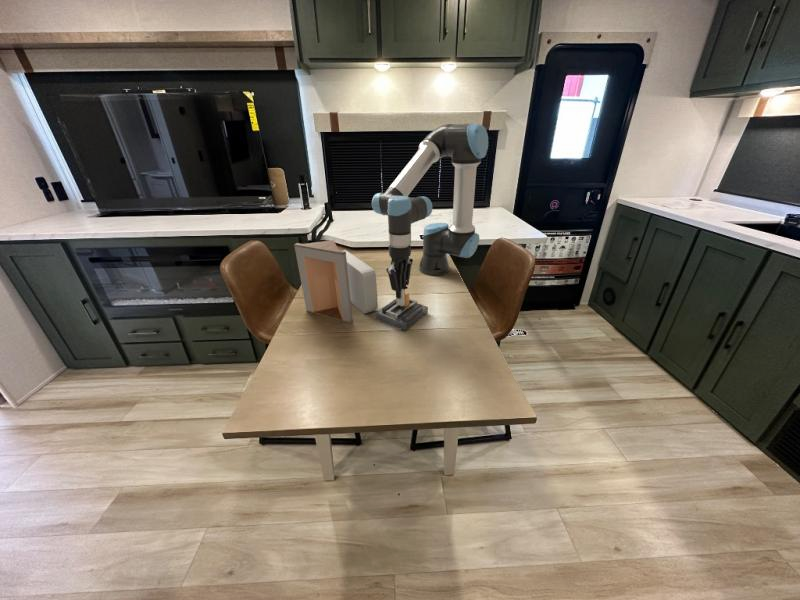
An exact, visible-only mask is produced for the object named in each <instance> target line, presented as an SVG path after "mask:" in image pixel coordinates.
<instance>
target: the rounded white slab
mask: <svg viewBox="0 0 800 600" xmlns="http://www.w3.org/2000/svg"><path fill="white" fill-rule="evenodd" d="M342 251H346V259H347V269H348V278H349V288H350V298H351V304H352V305H354V306H355V307H356V308H357V309H358V310H359V311H361V312H362V313H363V314H369V313H372V312H374V311H375V312H376V311H378V310H377V309H378V291H377V289H378V287H377V275H376V274H377V273H376V272H375V270H374V269H373V268H372V267H371V266H370V265H368V264H367V263H366V262H364V261H362V260H361V259H359V258H358V257H357V256H355V255H354V254H352V253H351V252H349V251H348V250H345V249H344V250H342Z"/></svg>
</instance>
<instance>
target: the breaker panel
mask: <svg viewBox="0 0 800 600" xmlns="http://www.w3.org/2000/svg"><path fill="white" fill-rule="evenodd" d="M394 300H396V298H395V299H394ZM394 300H392V301H390V302H389V303H388V304H390V303H391V302H393V301H394ZM388 304H386V305H388ZM409 304H410V305H409V306H407V307H406V308H404V309H402V308H400V305H397V304H396V305H394V306H393V307H392V308H390V309H389V310H387V311H386V312H382V308H383V307H385V306H386V305H384V306H383V307H381V308H380V309H378V310H376V311H375V313H374V314H375V320H376V321H380V322H382V323H383V324H387V325H389V326H392V327H393V328H396V329H399V330H402V332H403V331H404V332H407V331H408V330H409V329H410V328H412V327H413V326H415V324H417V322H419V321H421V320H422V319H423V318H424V317H425V316H427V315H428V313H429V306H426V305H423V304H421V305H422V307H423V310H422V311H420V312H419V313H418V314H417V315H415V316H414V317H413V318H411V319H410V320H409V321H405V320H402V315H404V314H405V313H407V312H408V311H409V310H411V309H412V308H413V307H415V306H416V305H417V304H419V303H418V301H417V300H415V299H412V298H409Z"/></svg>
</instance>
